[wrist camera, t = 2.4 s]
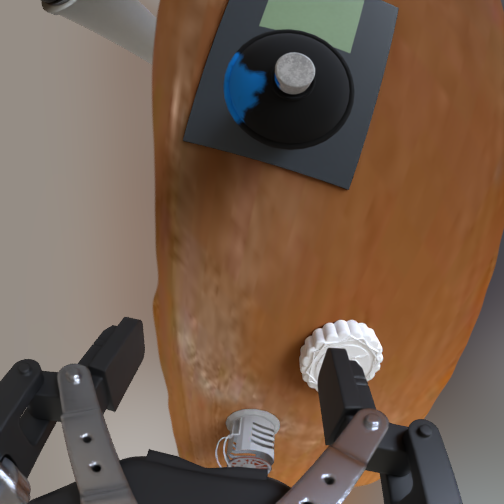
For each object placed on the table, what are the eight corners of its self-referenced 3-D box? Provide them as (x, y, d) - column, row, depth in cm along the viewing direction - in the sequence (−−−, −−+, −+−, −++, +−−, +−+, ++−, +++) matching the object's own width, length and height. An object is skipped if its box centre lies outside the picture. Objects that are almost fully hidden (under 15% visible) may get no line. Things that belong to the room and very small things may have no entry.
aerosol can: (310, 74, 30) (354, -3, 11) (324, 142, 32) (389, 140, 13) (238, 85, 31) (197, 17, 12) (252, 154, 33) (227, 164, 14)
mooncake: (300, 385, 44) (302, 401, 41) (296, 324, 41) (298, 339, 37) (374, 375, 43) (379, 390, 40) (380, 313, 39) (388, 326, 36)
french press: (250, 445, 51) (239, 556, 27) (207, 416, 48) (179, 538, 25) (291, 427, 48) (293, 550, 25) (248, 395, 46) (232, 535, 22)
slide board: (183, 140, 33) (182, 140, 33) (246, -37, 25) (245, -39, 24) (347, 189, 34) (348, 189, 34) (397, 9, 25) (398, 8, 25)
